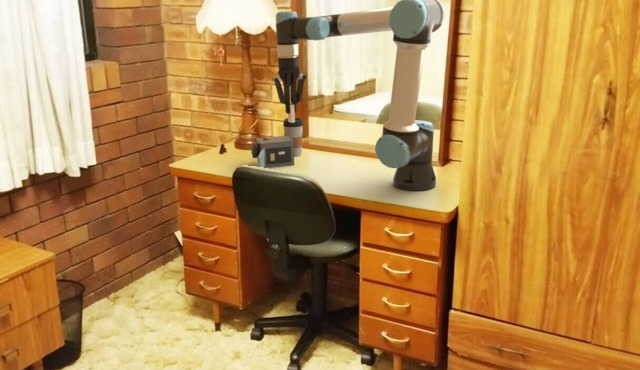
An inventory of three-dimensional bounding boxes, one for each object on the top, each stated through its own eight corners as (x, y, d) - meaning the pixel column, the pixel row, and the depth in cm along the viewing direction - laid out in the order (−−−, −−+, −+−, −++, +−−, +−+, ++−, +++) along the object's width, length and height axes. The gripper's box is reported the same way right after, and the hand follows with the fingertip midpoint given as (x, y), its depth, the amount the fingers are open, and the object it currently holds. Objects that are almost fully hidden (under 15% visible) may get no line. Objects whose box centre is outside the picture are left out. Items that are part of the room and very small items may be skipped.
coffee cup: (281, 153, 265) (280, 118, 260) (299, 151, 268) (298, 116, 264) (288, 158, 258) (287, 122, 253) (306, 155, 261) (306, 120, 256)
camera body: (294, 165, 248) (293, 138, 245) (255, 169, 244) (254, 142, 240) (288, 159, 257) (287, 133, 253) (250, 163, 252) (249, 136, 249)
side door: (261, 166, 244) (260, 148, 242) (265, 166, 244) (264, 148, 242) (257, 175, 233) (256, 157, 230) (261, 175, 233) (260, 157, 230)
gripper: (299, 54, 229) (302, 118, 236) (267, 57, 223) (271, 122, 230) (309, 55, 222) (312, 121, 229) (276, 58, 216) (279, 126, 223)
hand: (291, 121), depth 230 cm, fingers closed
